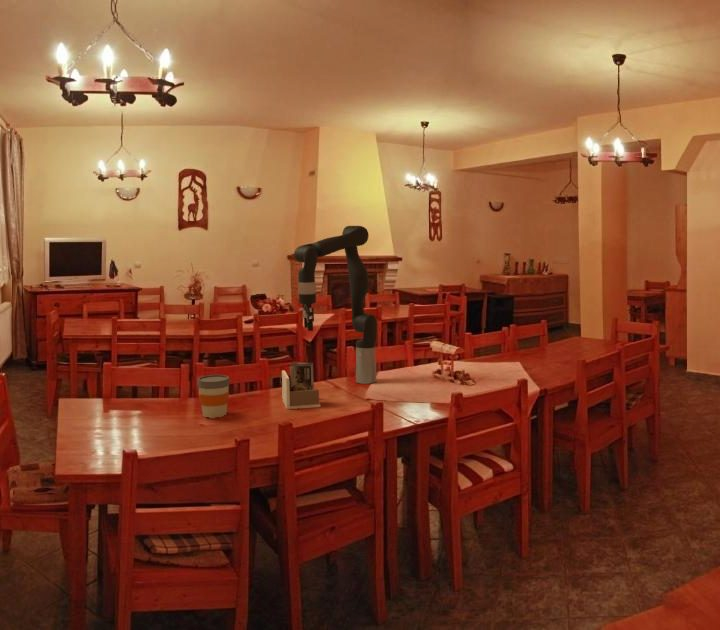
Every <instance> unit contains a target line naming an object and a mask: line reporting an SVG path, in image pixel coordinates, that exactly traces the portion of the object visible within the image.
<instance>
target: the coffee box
mask: <svg viewBox="0 0 720 630" xmlns="http://www.w3.org/2000/svg"><path fill="white" fill-rule="evenodd" d="M289 368H290V369H289V372H290V384H291V391H303V390H315V384H314V362H292V363H291V364H290V365H289Z"/></svg>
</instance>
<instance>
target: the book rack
mask: <svg viewBox="0 0 720 630" xmlns="http://www.w3.org/2000/svg"><path fill="white" fill-rule="evenodd" d="M281 379H282V380H281V389H282V390H281V392H282V394H281V395H282V399H283V400H282V399H281V400H282V402H283V404H284V407H285V409H286V410H296V409H298V408H299V409H310V408H321V403H320V394H319V393H320V390H319V389H314V390H303V391H291V383H290V377H289V376H288V374H287V372H286V370H281Z"/></svg>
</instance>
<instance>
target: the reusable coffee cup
mask: <svg viewBox="0 0 720 630" xmlns="http://www.w3.org/2000/svg"><path fill="white" fill-rule="evenodd" d="M230 384H231V383H230V377H229V376H228V375H225V374H210V375H203V376H199V377H198V378H197V384H196V385H197V386H196V387H197V388H198V400H199V404H200V406H201V411H202V417H204V416H205V417H204V418H206V417H209V418H208V419H216V418H215V417H220V418H223V417H225V416H227V409H228V408H227V407H228V403H229V398H230V390H229V387H230ZM224 415H225V416H224ZM222 416H223V417H222Z"/></svg>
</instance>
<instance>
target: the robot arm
mask: <svg viewBox="0 0 720 630" xmlns="http://www.w3.org/2000/svg"><path fill="white" fill-rule="evenodd" d="M368 240H369V231H368V229H367V228H366V227H364V226H363V225H347V226H345V227H344V228H343V229H342V234H341V235H336V236H331V237H327V238H323V239H320V240H318V241H316V242H312V243H307V244H302V245H300V246H298V247H296V249H294V251H293V257H294V259H295V260H296V261H297V262H299V263H304V264H303V267H302V268H299V270H298V274H297V275H298V287H297V288H298V289H297V290H298V304H300V305H302V318H303V327H304V328H305V329H307V331H308V332H312V331H314V322H315V313H314V310H315V309H314V307H313V306H312V305H313V304H317V288H316V287H317V285H316V278H315V276H316V275H315V274H316V267H317V262H318V258H323V257H325V256H328V255H331V254H334V253H335V252H338V251H341V250H344V254H345V257H346V264H347V265H346V266H347V271H348V283H349V290H350V300H351V301H350V302H351V324H352V328H353V330H354V331H355V332H358V333H362V335H363V336H362V337H361V338H360V339H357V340H356V341H355V382H356V383H358V384H362V385H363V384H366V385H368V384H374V383H377V362H376V342H377V338H378V321H377V317H376V316H375V315H374V314H370V313H365V310H364V302H365V299H366V296H367V294H368V292H369V289H370V279H369V278H370V277H369V272H368V270H367V267H366V265H365V263H364V262H363V261H362V259H361V257H360V255H359V250H358V247H359V246H364V245H365V244H367V242H368Z"/></svg>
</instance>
